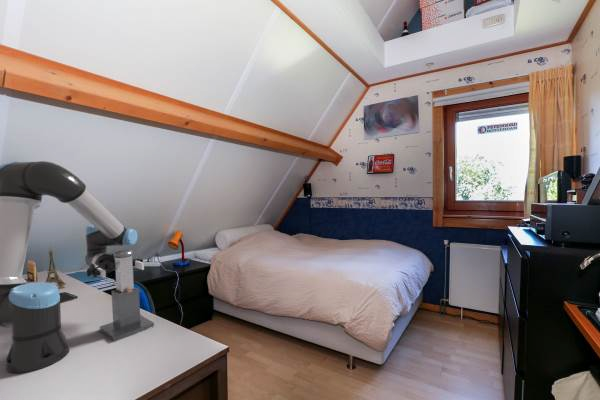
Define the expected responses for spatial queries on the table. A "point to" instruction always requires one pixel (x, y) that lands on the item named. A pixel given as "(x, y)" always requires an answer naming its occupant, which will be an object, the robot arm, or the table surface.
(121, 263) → the column
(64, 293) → the phone
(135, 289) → the jack stand base
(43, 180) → the robot arm
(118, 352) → the table surface
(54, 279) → the eiffel tower
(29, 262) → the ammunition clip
